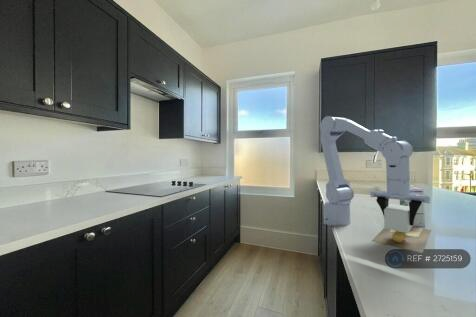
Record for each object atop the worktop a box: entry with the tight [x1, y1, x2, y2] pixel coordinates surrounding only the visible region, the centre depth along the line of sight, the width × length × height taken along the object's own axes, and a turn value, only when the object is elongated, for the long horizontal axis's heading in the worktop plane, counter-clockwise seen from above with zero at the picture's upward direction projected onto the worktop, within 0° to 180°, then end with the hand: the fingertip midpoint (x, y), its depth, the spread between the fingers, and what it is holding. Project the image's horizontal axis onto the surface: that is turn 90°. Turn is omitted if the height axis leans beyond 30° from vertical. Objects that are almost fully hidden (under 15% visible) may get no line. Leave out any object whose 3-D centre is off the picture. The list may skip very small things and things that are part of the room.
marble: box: [392, 232, 404, 243], centre depth 63 cm, size 3×3×3 cm
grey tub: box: [383, 203, 413, 233], centre depth 64 cm, size 6×9×6 cm, turn 132°
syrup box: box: [399, 186, 426, 228], centre depth 81 cm, size 6×6×14 cm
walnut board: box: [371, 226, 432, 254], centre depth 68 cm, size 12×24×1 cm, turn 132°
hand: (398, 222), depth 64 cm, fingers closed on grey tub, 6 cm apart
